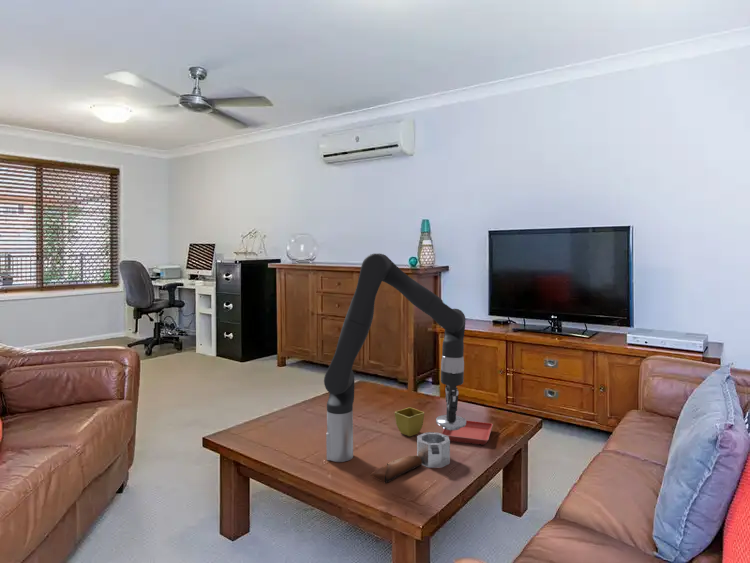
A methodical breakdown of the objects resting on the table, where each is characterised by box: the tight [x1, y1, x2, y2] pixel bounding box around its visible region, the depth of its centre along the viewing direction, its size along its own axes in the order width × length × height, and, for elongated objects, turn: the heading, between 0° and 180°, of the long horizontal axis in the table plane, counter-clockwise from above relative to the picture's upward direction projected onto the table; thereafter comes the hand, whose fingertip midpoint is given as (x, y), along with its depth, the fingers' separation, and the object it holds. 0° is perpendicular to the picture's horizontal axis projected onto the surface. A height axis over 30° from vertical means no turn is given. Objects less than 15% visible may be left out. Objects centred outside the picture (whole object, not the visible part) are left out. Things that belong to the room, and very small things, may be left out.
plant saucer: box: [441, 420, 494, 446], centre depth 199 cm, size 18×18×3 cm
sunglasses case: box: [369, 455, 423, 485], centre depth 168 cm, size 18×7×7 cm
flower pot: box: [394, 406, 425, 437], centre depth 201 cm, size 9×9×9 cm
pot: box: [416, 431, 451, 469], centre depth 176 cm, size 11×17×8 cm, turn 179°
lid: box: [435, 403, 467, 430], centre depth 168 cm, size 10×10×8 cm
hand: (450, 419), depth 168 cm, fingers closed on lid, 3 cm apart
